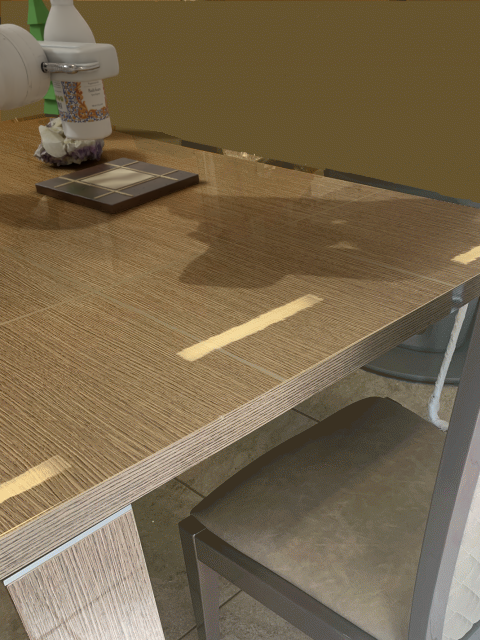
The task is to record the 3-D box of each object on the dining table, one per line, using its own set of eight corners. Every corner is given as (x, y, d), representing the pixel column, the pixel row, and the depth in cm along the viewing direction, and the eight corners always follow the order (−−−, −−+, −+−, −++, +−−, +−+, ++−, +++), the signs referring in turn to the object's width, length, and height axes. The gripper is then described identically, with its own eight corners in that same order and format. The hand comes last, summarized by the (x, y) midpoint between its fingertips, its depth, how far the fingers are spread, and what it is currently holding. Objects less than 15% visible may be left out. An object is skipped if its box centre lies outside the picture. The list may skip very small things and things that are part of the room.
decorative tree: (39, 137, 143) (-3, -27, 125) (67, 128, 150) (31, -29, 132) (74, 141, 140) (37, -27, 122) (101, 131, 147) (70, -29, 129)
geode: (66, 201, 124) (130, 171, 130) (55, 160, 116) (124, 130, 122) (17, 154, 129) (81, 127, 135) (3, 111, 120) (72, 84, 127)
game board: (36, 192, 112) (34, 183, 111) (124, 165, 125) (122, 156, 124) (113, 214, 103) (111, 204, 102) (199, 182, 116) (198, 173, 115)
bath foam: (84, 143, 93) (49, -25, 81) (55, 137, 96) (17, -27, 84) (122, 134, 97) (94, -27, 85) (92, 128, 100) (61, -28, 88)
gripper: (78, 40, 76) (137, 27, 86) (-64, 33, 80) (8, 22, 91) (89, 99, 80) (144, 80, 90) (-47, 89, 84) (20, 72, 95)
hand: (75, 51), depth 91 cm, fingers closed on bath foam, 7 cm apart
